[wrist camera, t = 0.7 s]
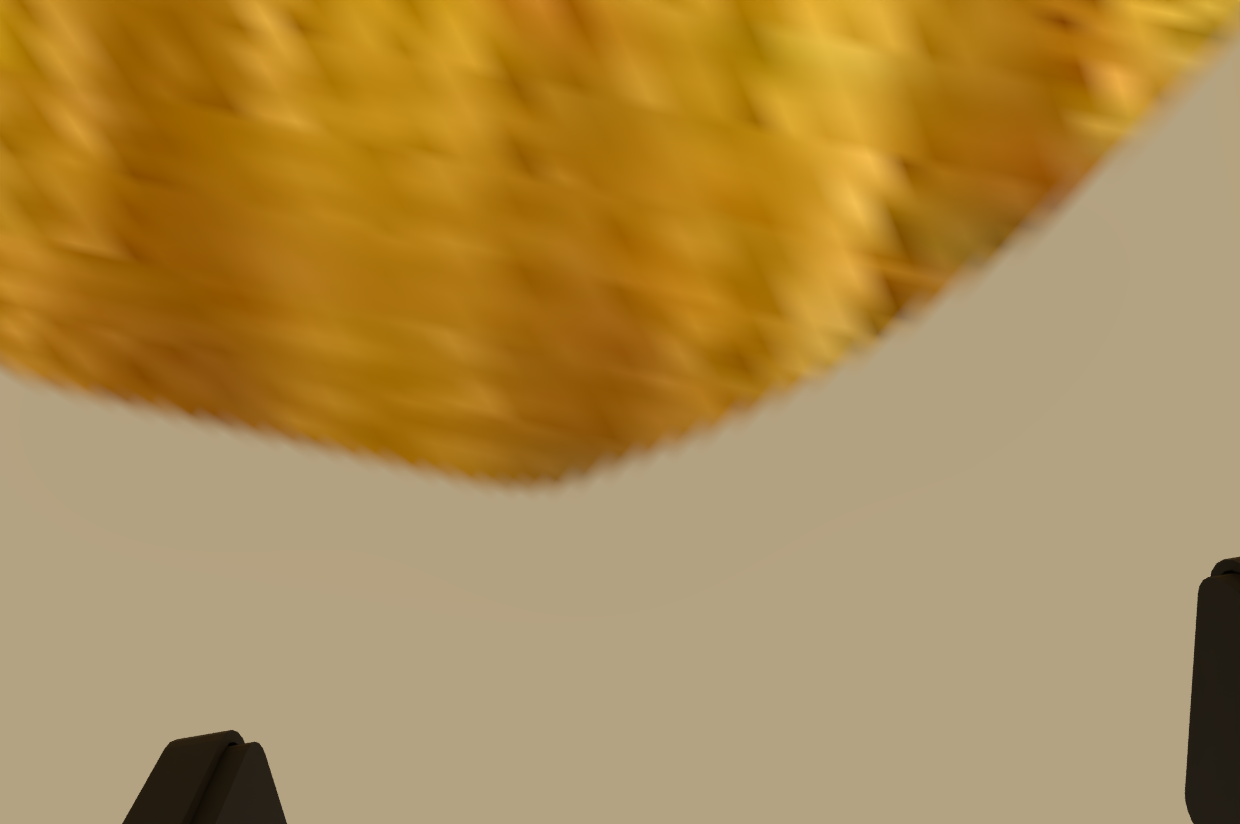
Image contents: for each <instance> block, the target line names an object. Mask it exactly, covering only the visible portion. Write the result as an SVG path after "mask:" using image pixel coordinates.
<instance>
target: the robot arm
mask: <svg viewBox="0 0 1240 824" xmlns="http://www.w3.org/2000/svg"><path fill="white" fill-rule="evenodd" d="M1190 710H1191V711H1190V724H1189V739H1188V755H1187V770H1186V784H1185V801H1186V805H1187V809H1188V812H1189V815H1190V817H1191V820H1192V822H1193V823H1194V824H1240V557H1236V558H1230V559H1224V560H1222V561H1220V562H1218V563H1217V564H1216V565H1215V567H1214V568H1213V570H1212V572H1211V576H1210V577H1208V578H1206V579H1204V580H1203V581H1202V583H1201V585H1200V586H1199V591H1198V602H1197V617H1196V632H1195V647H1194V664H1193V679H1192V694H1191V708H1190ZM122 824H287V823H286V819H285V816H284V813H283V810H282V806H281V803H280V800H279V797H278V794H277V791H276V787H275V784H274V781H273V778H272V775H271V771H270V768H269V765H268V762H267V758H266V755H265V753H264V750H263V748H262V747H261V745H260V744H259V743H257V742H251V743H244V740H243V738H242V737H241V736H240V734H239V733H238V732H236V731H234V730H230V731H223V732H218V733H212V734H206V735H200V736H194V737H188V738H183V739H177V740H174V741H172V742H170V743H169V744H168V745H167V747H166V748H165V749H164V751H163V753H162V754H161V756H160V758H159V760H158V762H157V763H156V765H155V767H154V769H153V770H152V772H151V774H150V776H149V777H148V779H147V781H146V783H145V785H144V787H143V788H142V790H141V792H140V793H139V795H138V797H137V799H136V800H135V802H134V804H133V806H132V808H131V809H130V811H129V813H128V815H127V816H126V818H125V820H124V822H123V823H122Z"/></svg>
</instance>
